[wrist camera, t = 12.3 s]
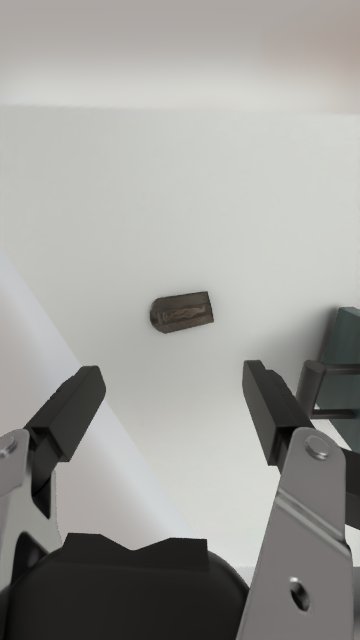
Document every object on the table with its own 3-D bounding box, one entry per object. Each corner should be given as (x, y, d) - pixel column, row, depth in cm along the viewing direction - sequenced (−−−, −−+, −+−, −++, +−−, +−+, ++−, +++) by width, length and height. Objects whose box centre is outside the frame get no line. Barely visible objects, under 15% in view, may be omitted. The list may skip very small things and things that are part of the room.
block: (213, 317, 18) (216, 325, 17) (159, 331, 19) (156, 339, 18) (205, 284, 17) (207, 289, 15) (147, 300, 18) (142, 306, 16)
